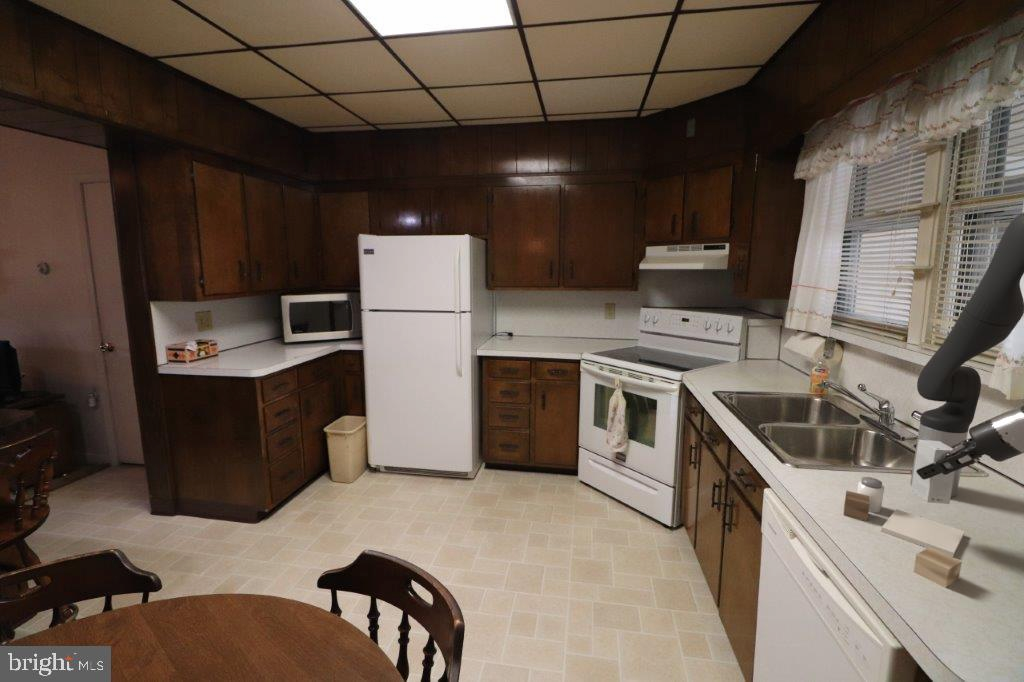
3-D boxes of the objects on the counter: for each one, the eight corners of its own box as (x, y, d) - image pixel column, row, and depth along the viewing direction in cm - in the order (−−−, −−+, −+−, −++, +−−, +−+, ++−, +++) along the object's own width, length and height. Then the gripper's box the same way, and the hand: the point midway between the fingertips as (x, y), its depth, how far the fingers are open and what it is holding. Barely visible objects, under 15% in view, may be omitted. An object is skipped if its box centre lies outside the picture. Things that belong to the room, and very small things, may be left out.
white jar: (859, 500, 120) (862, 474, 118) (883, 508, 116) (887, 481, 115) (852, 506, 117) (856, 480, 115) (877, 515, 113) (881, 487, 111)
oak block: (926, 565, 95) (929, 547, 94) (958, 580, 90) (961, 561, 90) (913, 572, 93) (916, 554, 92) (945, 588, 88) (948, 569, 88)
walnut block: (844, 507, 116) (846, 490, 115) (866, 513, 114) (869, 495, 113) (843, 515, 113) (845, 498, 112) (867, 521, 110) (869, 503, 109)
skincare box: (950, 504, 100) (959, 451, 98) (927, 503, 101) (935, 449, 99) (931, 491, 106) (939, 440, 104) (909, 489, 107) (917, 439, 105)
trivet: (895, 512, 114) (896, 509, 113) (963, 535, 104) (964, 531, 104) (881, 531, 106) (881, 527, 106) (953, 557, 97) (953, 552, 97)
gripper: (998, 410, 99) (918, 446, 110) (987, 425, 90) (901, 463, 101) (1030, 442, 96) (945, 476, 107) (1023, 461, 87) (930, 496, 98)
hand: (924, 470), depth 104 cm, fingers closed on skincare box, 7 cm apart
